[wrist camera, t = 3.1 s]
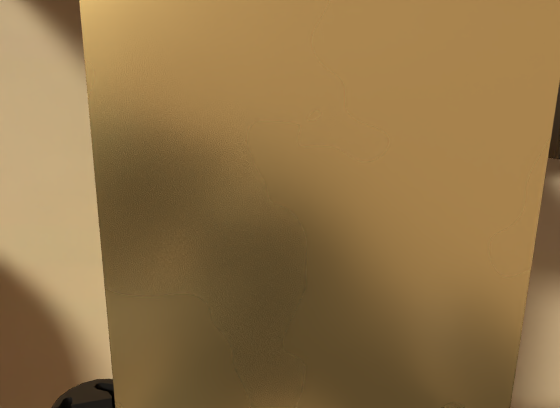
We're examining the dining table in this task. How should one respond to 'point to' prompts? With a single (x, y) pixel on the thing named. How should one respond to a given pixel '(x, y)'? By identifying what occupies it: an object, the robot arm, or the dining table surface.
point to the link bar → (318, 196)
